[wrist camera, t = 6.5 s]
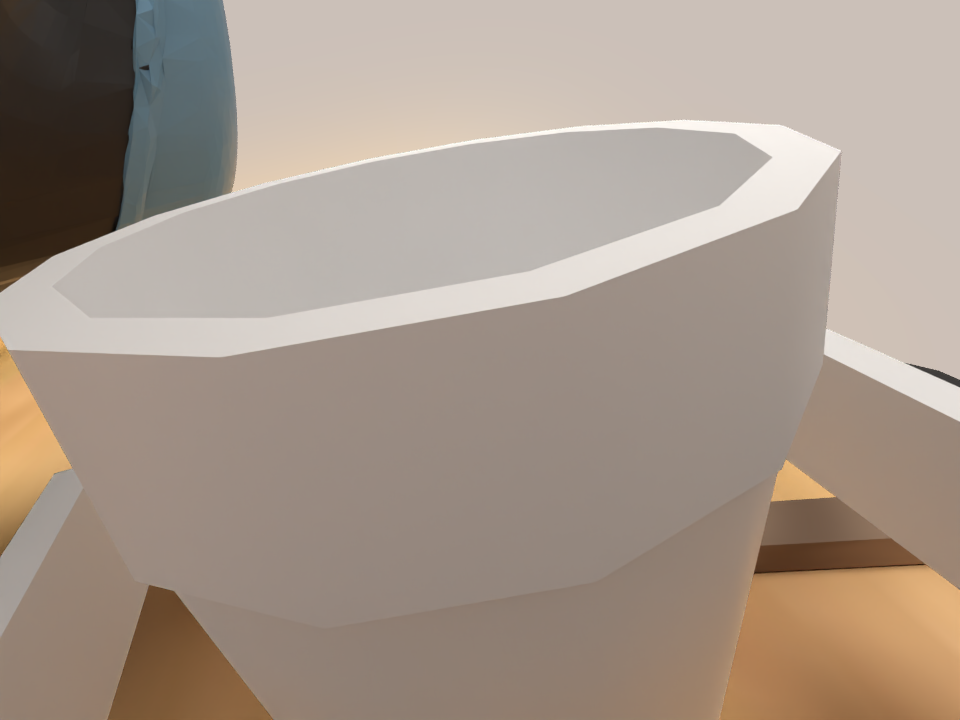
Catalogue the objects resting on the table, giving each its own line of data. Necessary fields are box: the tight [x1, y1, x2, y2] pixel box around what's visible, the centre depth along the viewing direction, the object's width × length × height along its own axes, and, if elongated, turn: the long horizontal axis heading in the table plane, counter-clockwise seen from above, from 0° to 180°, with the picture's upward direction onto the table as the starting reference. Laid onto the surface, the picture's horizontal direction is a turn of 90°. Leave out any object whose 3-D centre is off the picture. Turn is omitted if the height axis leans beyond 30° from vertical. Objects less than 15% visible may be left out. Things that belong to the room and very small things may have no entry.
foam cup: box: [0, 120, 841, 720], centre depth 11 cm, size 10×9×13 cm
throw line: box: [754, 497, 925, 572], centre depth 19 cm, size 22×2×1 cm, turn 85°
